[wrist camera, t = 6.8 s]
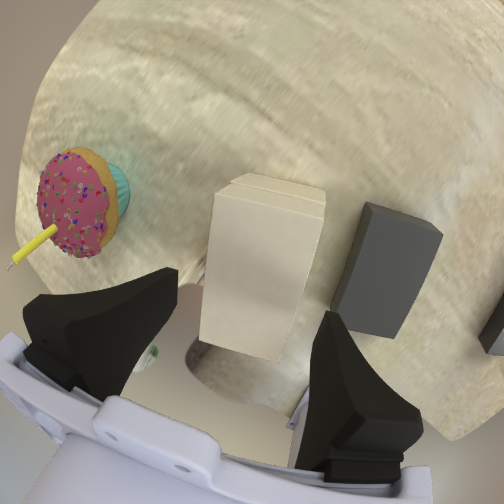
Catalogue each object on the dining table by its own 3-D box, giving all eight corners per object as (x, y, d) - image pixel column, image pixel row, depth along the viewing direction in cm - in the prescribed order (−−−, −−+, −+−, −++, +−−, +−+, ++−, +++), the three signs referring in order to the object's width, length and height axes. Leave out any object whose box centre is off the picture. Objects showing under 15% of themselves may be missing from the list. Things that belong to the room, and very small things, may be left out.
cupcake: (150, 240, 23) (51, 317, 12) (83, 231, 25) (-7, 286, 14) (145, 139, 20) (16, 162, 9) (75, 146, 21) (-32, 175, 10)
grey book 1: (388, 320, 21) (394, 339, 19) (329, 307, 22) (330, 325, 20) (430, 222, 17) (443, 234, 15) (365, 201, 18) (372, 210, 16)
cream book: (283, 336, 18) (278, 363, 16) (211, 316, 18) (198, 340, 16) (323, 205, 14) (325, 219, 12) (230, 183, 15) (214, 192, 12)
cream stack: (294, 298, 22) (287, 338, 18) (229, 281, 23) (208, 316, 18) (325, 187, 18) (329, 204, 14) (248, 169, 19) (226, 180, 15)
